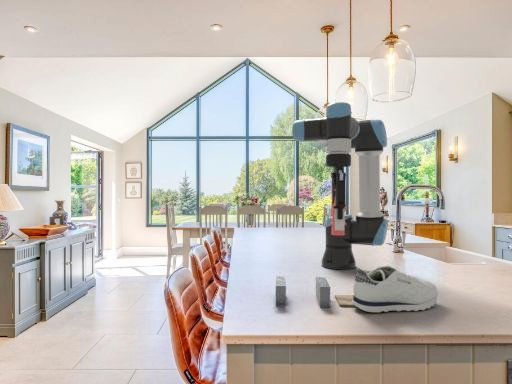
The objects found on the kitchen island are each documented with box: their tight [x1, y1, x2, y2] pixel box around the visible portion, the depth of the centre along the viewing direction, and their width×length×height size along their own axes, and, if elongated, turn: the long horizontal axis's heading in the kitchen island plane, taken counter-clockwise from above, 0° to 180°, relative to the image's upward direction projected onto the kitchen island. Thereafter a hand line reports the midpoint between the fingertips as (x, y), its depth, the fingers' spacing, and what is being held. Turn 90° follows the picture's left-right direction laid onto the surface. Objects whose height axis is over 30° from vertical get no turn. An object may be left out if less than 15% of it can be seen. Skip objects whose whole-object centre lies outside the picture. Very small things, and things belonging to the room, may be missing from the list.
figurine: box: [330, 189, 348, 235], centre depth 113 cm, size 5×5×15 cm
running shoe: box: [352, 265, 438, 313], centre depth 108 cm, size 11×29×12 cm, turn 112°
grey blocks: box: [275, 276, 331, 308], centre depth 114 cm, size 12×16×6 cm
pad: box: [334, 294, 357, 308], centre depth 113 cm, size 10×10×1 cm
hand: (338, 228), depth 113 cm, fingers closed on figurine, 5 cm apart
